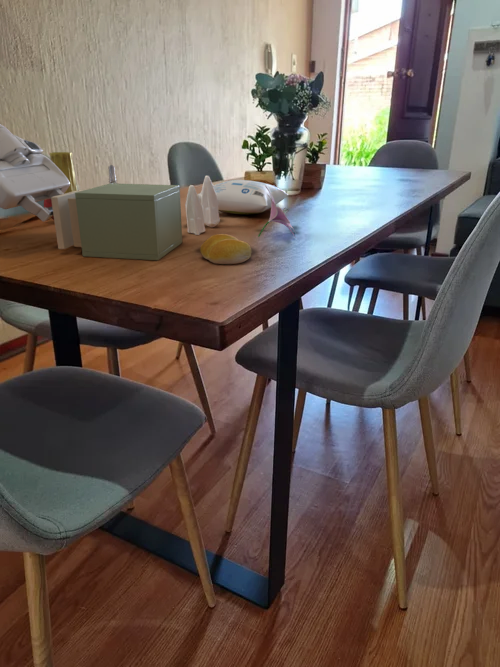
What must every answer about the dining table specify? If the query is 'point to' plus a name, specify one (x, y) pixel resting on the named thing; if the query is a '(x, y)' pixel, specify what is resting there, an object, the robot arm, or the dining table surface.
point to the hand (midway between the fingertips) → (59, 215)
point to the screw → (112, 174)
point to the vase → (65, 167)
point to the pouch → (246, 196)
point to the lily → (277, 216)
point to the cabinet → (129, 220)
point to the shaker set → (202, 208)
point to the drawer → (66, 219)
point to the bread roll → (225, 249)
